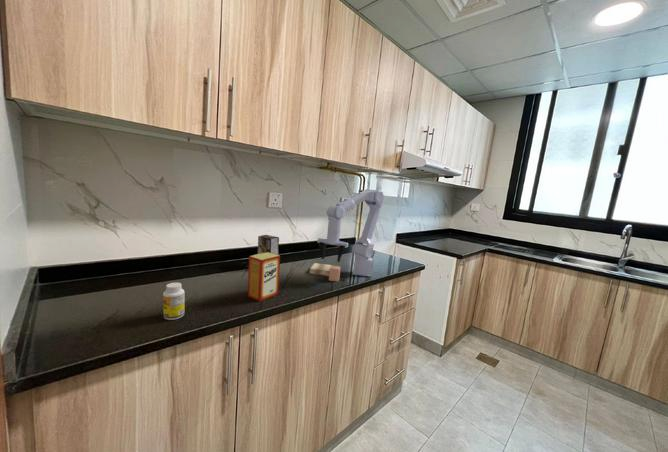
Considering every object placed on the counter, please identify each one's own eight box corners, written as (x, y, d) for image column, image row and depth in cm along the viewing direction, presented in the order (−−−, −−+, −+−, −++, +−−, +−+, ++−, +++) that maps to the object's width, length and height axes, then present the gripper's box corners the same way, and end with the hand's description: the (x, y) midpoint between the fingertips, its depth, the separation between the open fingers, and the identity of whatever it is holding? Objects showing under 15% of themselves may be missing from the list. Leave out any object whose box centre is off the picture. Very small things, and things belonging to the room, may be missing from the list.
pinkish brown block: (339, 278, 125) (340, 266, 124) (338, 281, 120) (339, 269, 120) (330, 277, 125) (331, 265, 125) (328, 280, 121) (329, 268, 120)
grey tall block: (278, 267, 134) (280, 237, 132) (270, 270, 129) (271, 238, 126) (265, 263, 138) (266, 234, 136) (256, 266, 133) (257, 235, 130)
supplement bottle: (163, 314, 80) (162, 282, 79) (183, 310, 83) (183, 280, 82) (163, 322, 76) (163, 289, 74) (185, 318, 79) (185, 286, 77)
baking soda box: (266, 289, 105) (268, 251, 103) (278, 293, 102) (280, 254, 100) (247, 296, 97) (249, 255, 95) (259, 301, 94) (261, 259, 92)
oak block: (332, 270, 137) (332, 265, 137) (329, 276, 127) (329, 271, 127) (314, 268, 138) (314, 263, 138) (309, 274, 129) (310, 268, 128)
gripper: (316, 230, 117) (313, 259, 119) (346, 234, 113) (343, 264, 114) (321, 228, 124) (318, 256, 125) (350, 232, 119) (347, 261, 121)
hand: (330, 260), depth 120 cm, fingers open, 7 cm apart
